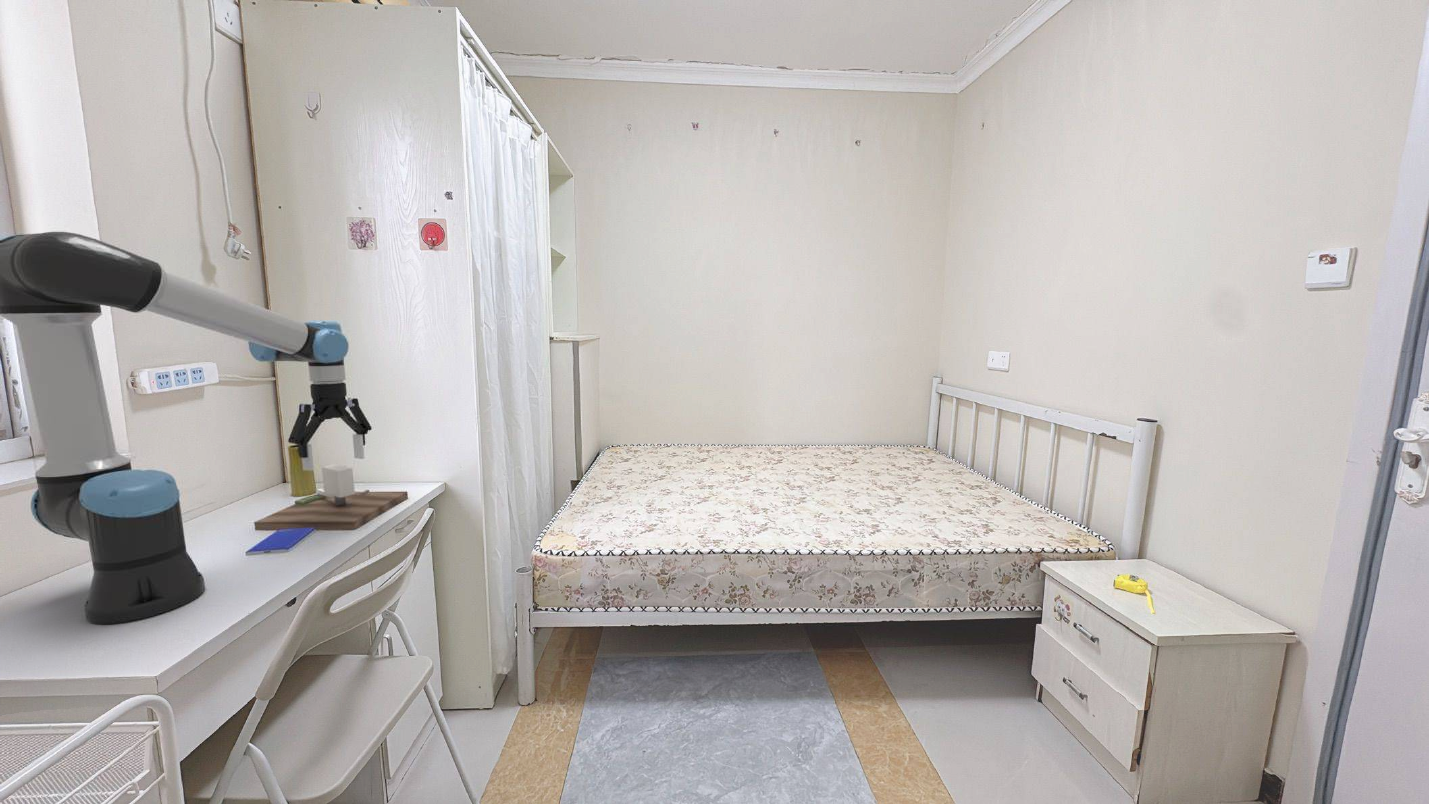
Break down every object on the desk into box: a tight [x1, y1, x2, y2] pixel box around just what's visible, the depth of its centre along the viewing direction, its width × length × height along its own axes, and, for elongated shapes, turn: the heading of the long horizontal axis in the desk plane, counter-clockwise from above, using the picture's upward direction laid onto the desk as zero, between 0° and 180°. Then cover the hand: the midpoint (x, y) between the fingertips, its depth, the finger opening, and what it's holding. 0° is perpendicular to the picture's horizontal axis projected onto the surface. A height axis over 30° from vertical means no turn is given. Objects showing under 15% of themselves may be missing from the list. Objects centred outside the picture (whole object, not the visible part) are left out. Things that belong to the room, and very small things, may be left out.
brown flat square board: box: [253, 489, 409, 531], centre depth 147 cm, size 24×24×3 cm
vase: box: [287, 444, 317, 497], centre depth 163 cm, size 6×6×14 cm
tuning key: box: [315, 463, 356, 506], centre depth 148 cm, size 16×4×10 cm, turn 59°
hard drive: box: [245, 527, 317, 556], centre depth 128 cm, size 2×8×12 cm
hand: (335, 464), depth 145 cm, fingers open, 13 cm apart
